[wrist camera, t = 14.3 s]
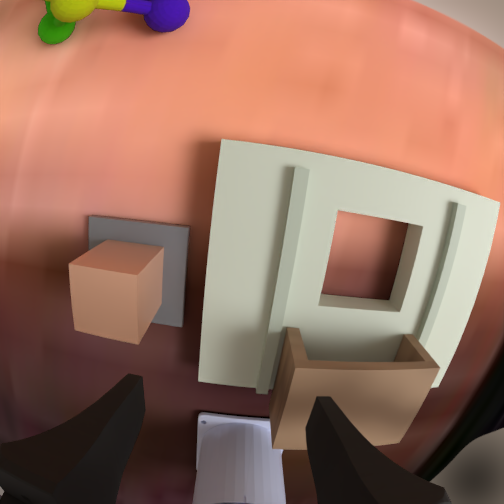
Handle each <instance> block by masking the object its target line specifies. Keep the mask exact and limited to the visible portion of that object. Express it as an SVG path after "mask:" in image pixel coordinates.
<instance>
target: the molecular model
mask: <svg viewBox="0 0 504 504" xmlns="http://www.w3.org/2000/svg"><path fill="white" fill-rule="evenodd" d="M44 1H45V4H46V9H47V14H46V15H45V16H44V17H43V18H42V20H41V22H40V24H39V26H38V35H39V36H40V38H41V40H42V41H44V42H45V43H47V44H57V43H60V42H63V41H64V40H65V39H67V38H68V37H69V36H70V35H71V33H72V32H73V30H74V28H75V23H76V21H79V20H82V19H83V18H85V17H86V16H88V15H90V14H91V13H92V11H93V10H94V9H105V10H114V11H122V12H130V13H137V14H143V15H144V20H145V21H146V23H147V25H148V26H149V27H150V28H152V29H153V30H155V31H158V32H171V31H174V30H176V29H177V28H179V27H181V26H182V25H184V23H185V22H186V20H187V19H188V17H189V12H190V6H189V3H188V1H187V0H44Z"/></svg>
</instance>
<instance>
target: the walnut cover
mask: <svg viewBox="0 0 504 504" xmlns="http://www.w3.org/2000/svg"><path fill="white" fill-rule="evenodd" d="M439 370H440V367H439V365H438V364H437V363H436V362H435V360H434V359H433V358H432V357H431V356H430V354H429V353H428V352H427V351H426V350H425V348H424V347H423V346H422V345H421V344H420V342H419V341H418V340H417V339H416V338H415V336H414V335H413V334H404V335H403V338H402V341H401V343H400V346H399V349H398V351H397V354H396V356H395V359H394V361H393V362H343V361H319V360H308V358H307V354H306V351H305V347H304V344H303V340H302V337H301V333H300V330H299V328H290V327H287V328H286V333H285V338H284V342H283V347H282V352H281V356H280V361H279V365H278V369H277V374H276V378H275V382H274V387H273V391H272V395H271V399H270V403H269V415H270V428H271V441H272V449H291V450H307V444H306V431H305V427H306V425H307V422H308V419H309V416H310V414H311V411H312V408H313V405H314V403H315V400H316V397H317V396H331V398H332V399H333V400H334V401H335V403H336V404H337V405H338V407H339V408H340V409H341V410H342V412H343V413H344V414H345V415H346V417H347V418H348V419H349V420H350V421H351V423H352V424H353V425H354V426H355V427H356V428H357V429H358V431H359V432H360V433H361V434H362V435H363V436H364V437H365V438H366V439H367V440H368V441H369V442H370V443H371V444H372V445H373V446H377V445H386V444H394V443H399V442H400V440H401V439H402V437H403V436H404V434H405V432H406V431H407V429H408V428H409V426H410V424H411V423H412V421H413V419H414V417H415V416H416V414H417V412H418V410H419V409H420V407H421V405H422V403H423V401H424V399H425V398H426V396H427V394H428V392H429V390H430V388H431V386H432V384H433V382H434V380H435V378H436V376H437V374H438V372H439Z"/></svg>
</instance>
